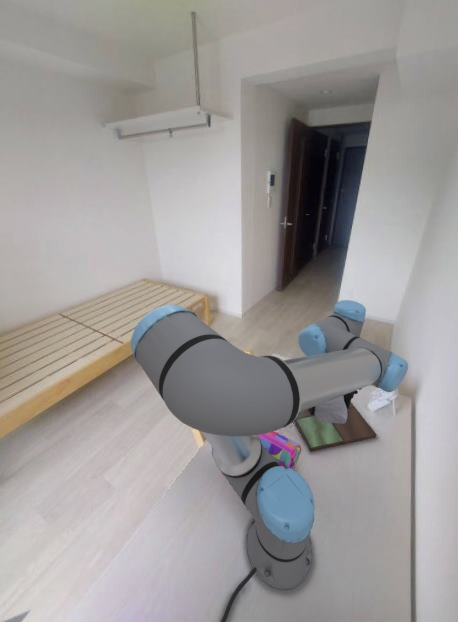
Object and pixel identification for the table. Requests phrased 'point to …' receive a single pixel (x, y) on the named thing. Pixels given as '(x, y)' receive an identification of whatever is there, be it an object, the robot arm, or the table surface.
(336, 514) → the table surface
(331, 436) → the board
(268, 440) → the pencil case
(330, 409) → the stone block
